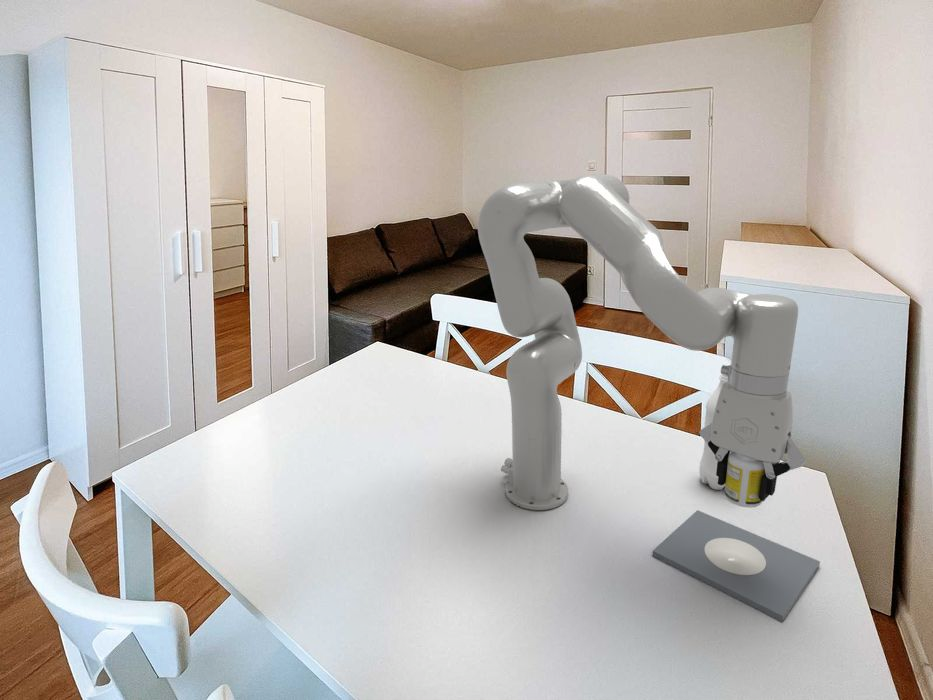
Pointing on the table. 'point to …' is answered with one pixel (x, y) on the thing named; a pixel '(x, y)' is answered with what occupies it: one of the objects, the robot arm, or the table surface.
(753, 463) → the supplement bottle
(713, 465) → the water bottle
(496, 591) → the table surface
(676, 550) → the slate board
